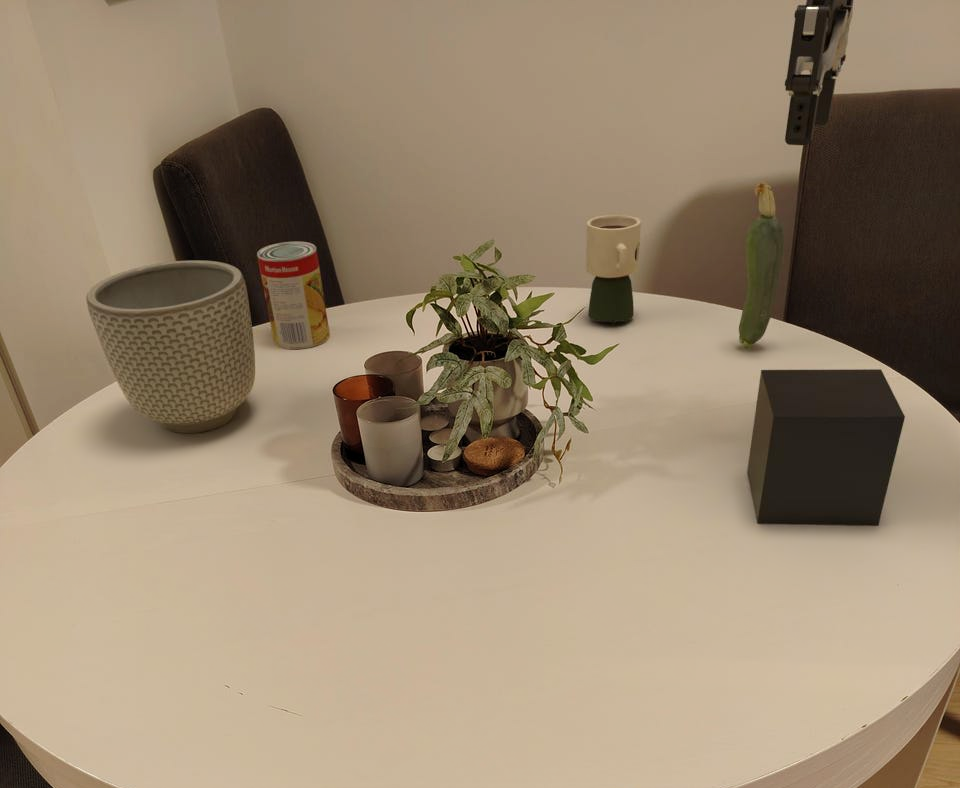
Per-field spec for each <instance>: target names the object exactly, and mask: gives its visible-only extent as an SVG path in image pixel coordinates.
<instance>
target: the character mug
mask: <svg viewBox="0 0 960 788" xmlns="http://www.w3.org/2000/svg"><path fill="white" fill-rule="evenodd" d="M641 224H642V222H641V218H639V217H636V216H633V215H629V214H628V215H627V214H604V215H600V216H595V217H592V218H590V219H589V220H588V221H586V243H585V244H586V247H585V248H586V249H585V250H586V251H585V253H586V254H585V256H586V257H585V262H586V263H585V265H586V272H587V273H588V274H589V275H591V276H593V277H594V278H593V280H592V284H591V290H590V296H589V303H588V313H587V316H588V318H589V320H592V321H594V322H604V323H605V322H606V323H609V322H610V323H611V324H615V323H616V322H628V321H630V320H632V319H633V318H634V316H635V309H634V296H633V295H634V294H633V285H632V280H631V277H630V275H631V274H634V273H635V272H636V271H637V270H638V269H639V266H640V246H641V245H640V244H641V227H642V225H641Z"/></svg>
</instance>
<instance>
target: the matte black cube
mask: <svg viewBox="0 0 960 788" xmlns="http://www.w3.org/2000/svg"><path fill="white" fill-rule="evenodd" d="M755 405H756V406H755V412H754V420H753V426H752V434H751V442H750V448H749V455H748V464H747V470H746V471H747V472H746V473H747V478H748V483H749V488H750V492H751V497H752V498H751V499H752V502H753V508H754V513H755V517H756V523H757V524H770V525H771V524H777V525H787V524H788V525H833V526H835V525H837V526H838V525H839V526H846V525H847V526H879V524H880V520H881V517H882V513H883V508H884V504H885V501H886V496H887V492H888V488H889V484H890V479H891V476H892V470H893V467H894V463H895V459H896V456H897V452H898V447H899V443H900V439H901V434H902V432H903V427H904V423H905V418H906V416H905V413H904V411H903V410H902V407H901V406H900V403H899V402H898V400H897V398H896V396H895V394H894V392H893V390H892V388H891V386H890V384H889V382H888V380H887V378H886V376H885V374H884V372H883V371H882V369H880V368H879V369H877V368H876V369H873V368H872V369H866V368H865V369H861V368H860V369H856V368H855V369H761V370H760V377H759V382H758V391H757V397H756V404H755Z"/></svg>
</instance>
